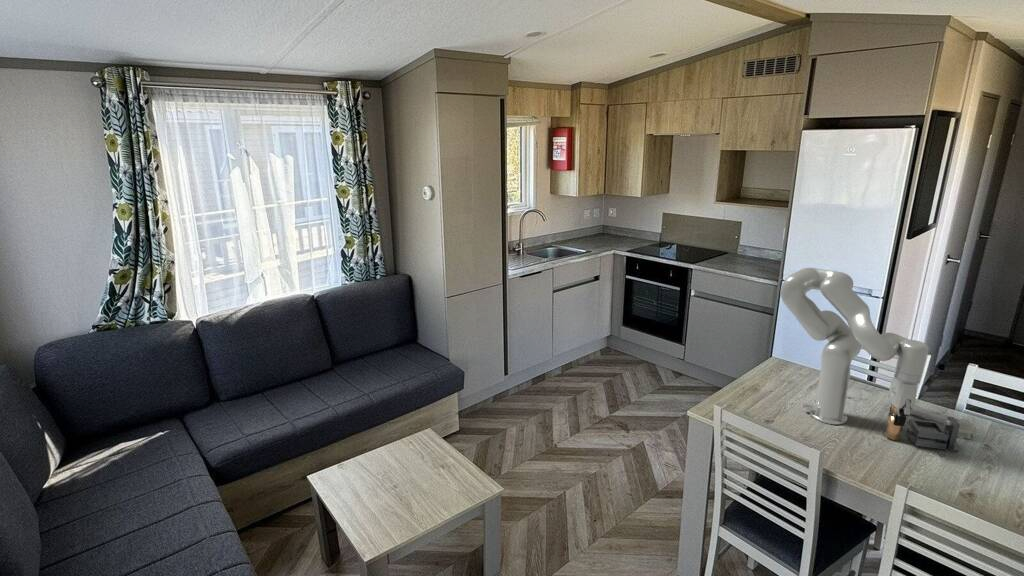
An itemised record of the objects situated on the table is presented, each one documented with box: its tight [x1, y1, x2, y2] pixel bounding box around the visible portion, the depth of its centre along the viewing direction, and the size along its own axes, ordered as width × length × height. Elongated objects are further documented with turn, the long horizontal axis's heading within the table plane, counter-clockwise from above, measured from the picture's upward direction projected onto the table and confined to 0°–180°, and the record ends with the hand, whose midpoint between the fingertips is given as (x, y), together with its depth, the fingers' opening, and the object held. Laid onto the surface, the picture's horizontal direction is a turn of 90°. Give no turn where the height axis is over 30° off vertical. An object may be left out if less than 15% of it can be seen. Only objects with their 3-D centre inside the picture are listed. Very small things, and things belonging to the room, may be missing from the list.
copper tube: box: [884, 404, 905, 441], centre depth 191 cm, size 4×4×14 cm
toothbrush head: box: [910, 404, 977, 440], centre depth 201 cm, size 5×7×25 cm
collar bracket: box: [905, 416, 960, 454], centre depth 188 cm, size 9×13×10 cm
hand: (896, 421), depth 191 cm, fingers closed on copper tube, 4 cm apart
